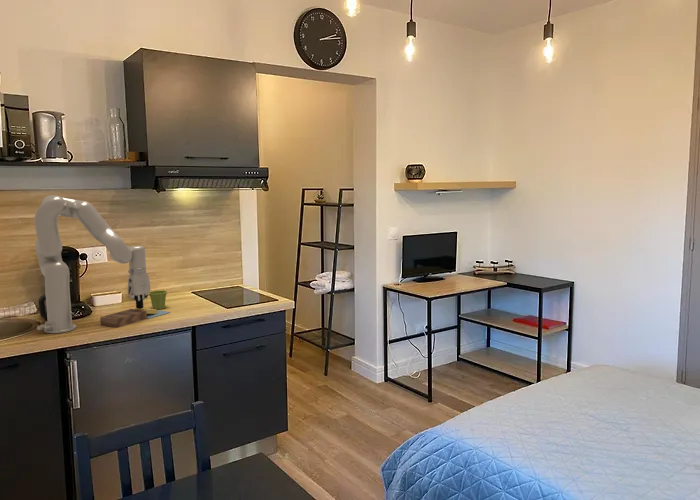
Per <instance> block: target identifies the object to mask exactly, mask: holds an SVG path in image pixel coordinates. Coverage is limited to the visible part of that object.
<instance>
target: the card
mask: <svg viewBox="0 0 700 500" xmlns="http://www.w3.org/2000/svg"><path fill="white" fill-rule="evenodd" d="M134 309H137V310H144V311H147V314H158V310H159V309H153V308H141V309H138V308H136V307H135V308H134Z"/></svg>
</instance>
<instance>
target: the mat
mask: <svg viewBox="0 0 700 500" xmlns="http://www.w3.org/2000/svg"><path fill="white" fill-rule="evenodd" d="M157 310H158V314H147V319H146V320H151V319H153V318H157V317H160V316H163V315H167V314H171V311H165V310H161V309H157Z"/></svg>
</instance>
